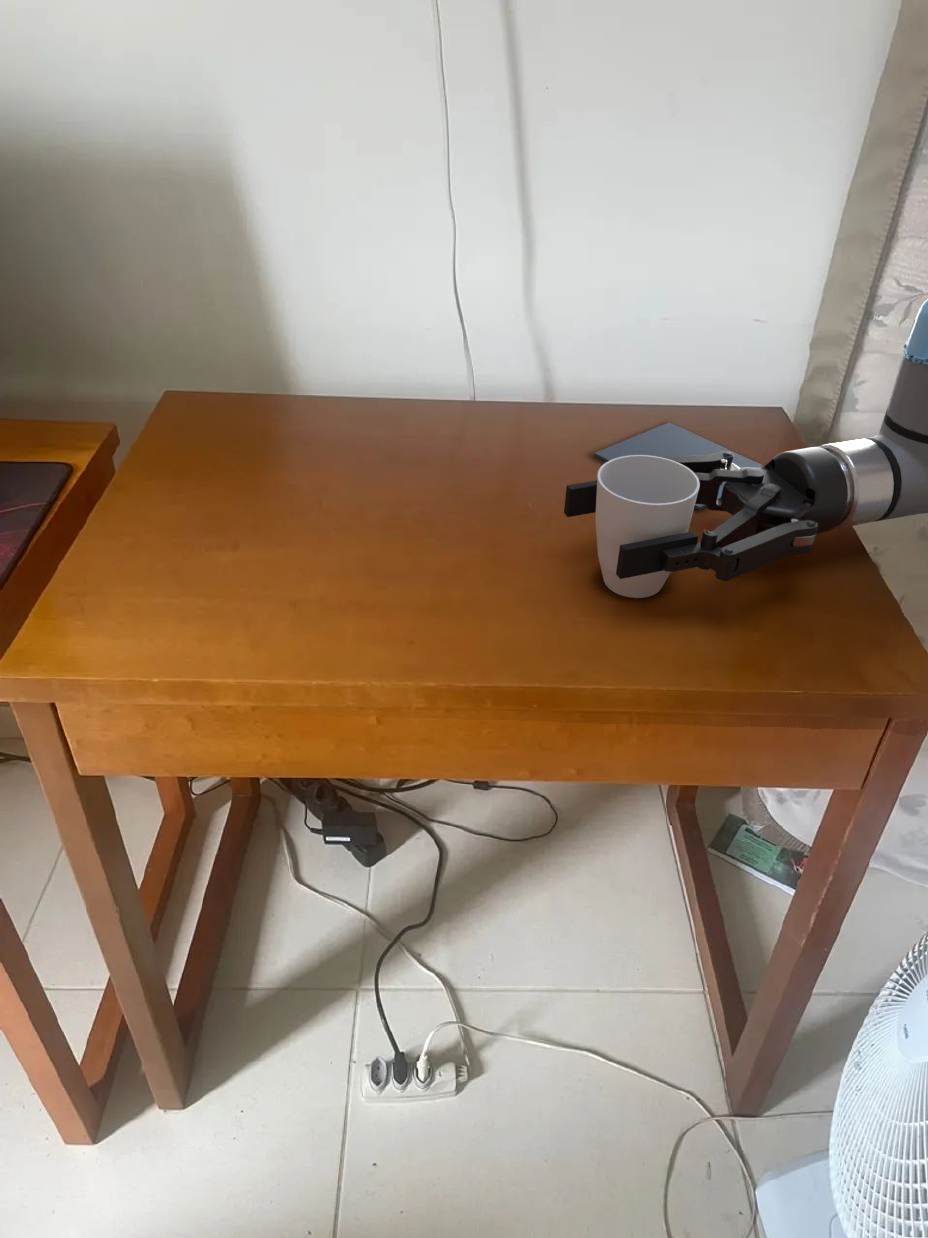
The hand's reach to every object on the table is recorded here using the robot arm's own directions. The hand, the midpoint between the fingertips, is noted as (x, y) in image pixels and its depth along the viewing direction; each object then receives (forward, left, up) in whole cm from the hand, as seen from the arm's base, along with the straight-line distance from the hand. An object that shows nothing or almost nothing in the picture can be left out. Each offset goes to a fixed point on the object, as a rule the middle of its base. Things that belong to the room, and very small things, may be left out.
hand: (592, 530), depth 80 cm
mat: (+9, -24, -6) cm, 27 cm away
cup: (-2, -4, -6) cm, 8 cm away
